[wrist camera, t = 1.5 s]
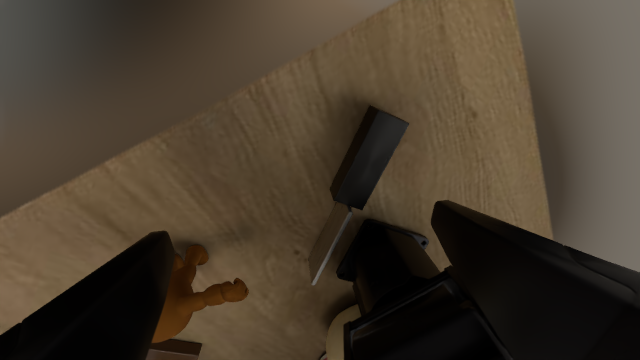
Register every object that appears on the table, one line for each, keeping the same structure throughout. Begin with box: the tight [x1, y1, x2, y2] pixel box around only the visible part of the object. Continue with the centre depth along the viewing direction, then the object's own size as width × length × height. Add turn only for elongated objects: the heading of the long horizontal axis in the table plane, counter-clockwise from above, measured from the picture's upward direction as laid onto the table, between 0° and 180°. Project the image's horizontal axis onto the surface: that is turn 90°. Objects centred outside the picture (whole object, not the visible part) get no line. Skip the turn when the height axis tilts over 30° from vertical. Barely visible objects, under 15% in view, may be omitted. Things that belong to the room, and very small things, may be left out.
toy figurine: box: [152, 245, 249, 343], centre depth 19 cm, size 12×4×7 cm, turn 108°
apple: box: [326, 304, 361, 360], centre depth 25 cm, size 8×8×8 cm
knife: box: [308, 105, 409, 285], centre depth 20 cm, size 14×2×3 cm, turn 156°
